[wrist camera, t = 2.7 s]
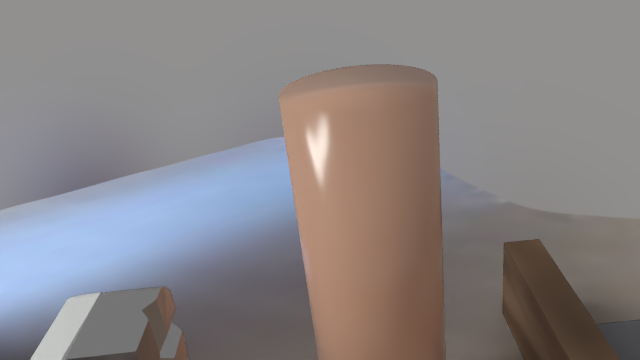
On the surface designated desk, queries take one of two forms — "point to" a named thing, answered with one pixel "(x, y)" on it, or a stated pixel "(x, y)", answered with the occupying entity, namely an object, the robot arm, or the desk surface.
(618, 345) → the rubber mat
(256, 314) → the desk surface
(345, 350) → the wooden peg
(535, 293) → the bar
